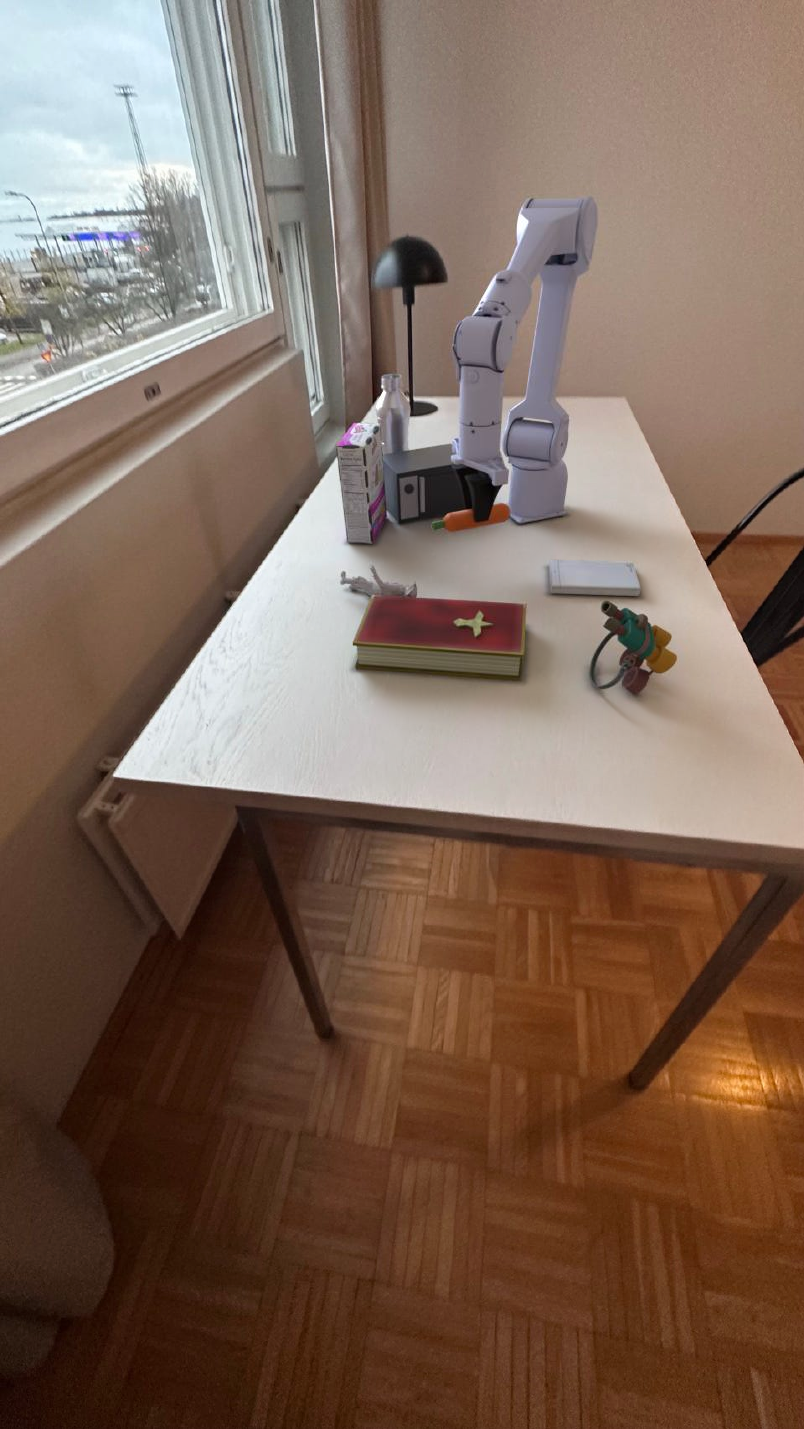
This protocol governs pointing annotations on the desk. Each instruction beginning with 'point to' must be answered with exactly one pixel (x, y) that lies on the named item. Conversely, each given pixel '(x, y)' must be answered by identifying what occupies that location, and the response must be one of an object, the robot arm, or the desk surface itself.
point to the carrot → (471, 519)
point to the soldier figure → (379, 586)
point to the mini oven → (421, 484)
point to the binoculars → (634, 648)
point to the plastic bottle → (393, 415)
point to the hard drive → (593, 578)
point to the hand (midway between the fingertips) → (476, 516)
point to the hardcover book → (442, 637)
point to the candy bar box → (362, 482)
